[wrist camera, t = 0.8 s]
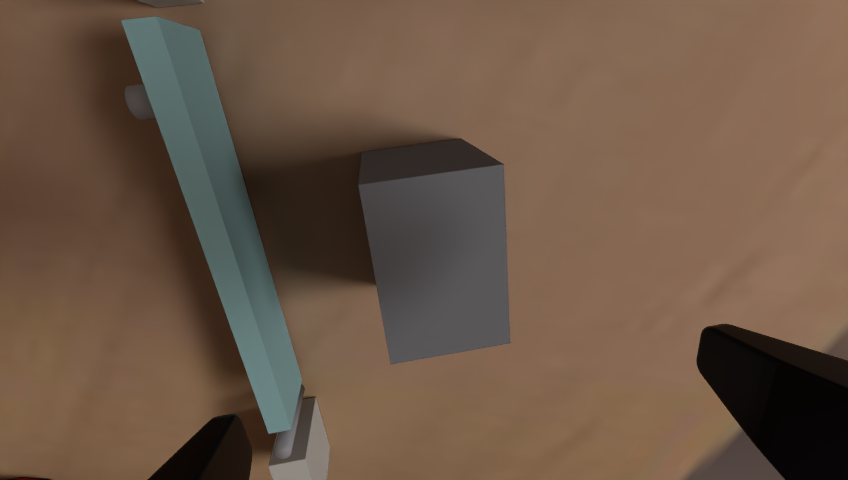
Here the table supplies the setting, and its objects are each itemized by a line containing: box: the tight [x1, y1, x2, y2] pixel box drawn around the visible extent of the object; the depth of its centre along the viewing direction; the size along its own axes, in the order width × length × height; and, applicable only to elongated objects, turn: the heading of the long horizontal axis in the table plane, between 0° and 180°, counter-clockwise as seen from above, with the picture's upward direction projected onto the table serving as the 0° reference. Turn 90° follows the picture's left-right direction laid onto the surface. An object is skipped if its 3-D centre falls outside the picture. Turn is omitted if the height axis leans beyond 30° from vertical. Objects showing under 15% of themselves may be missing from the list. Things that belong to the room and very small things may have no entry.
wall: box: [137, 0, 330, 480], centre depth 15 cm, size 24×2×4 cm, turn 7°
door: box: [121, 16, 302, 434], centre depth 15 cm, size 15×2×3 cm, turn 6°
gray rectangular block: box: [358, 138, 510, 364], centre depth 14 cm, size 6×4×6 cm, turn 7°
